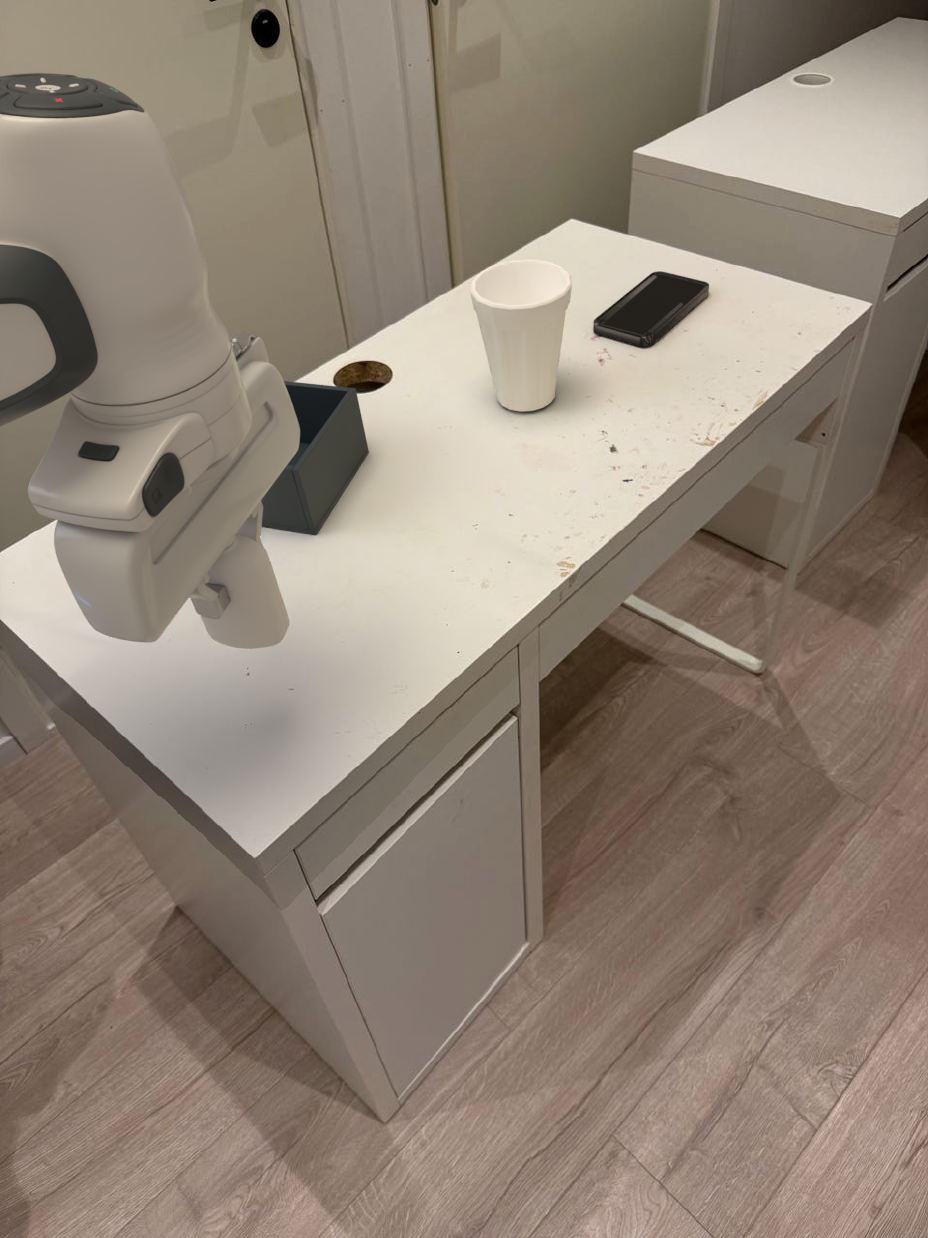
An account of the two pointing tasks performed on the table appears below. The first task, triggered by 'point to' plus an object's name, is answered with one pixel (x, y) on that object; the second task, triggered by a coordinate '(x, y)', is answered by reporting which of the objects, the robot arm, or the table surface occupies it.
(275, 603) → the eye dropper bottle
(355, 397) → the bin
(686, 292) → the phone
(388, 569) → the table surface
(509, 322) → the cup
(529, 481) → the table surface
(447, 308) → the table surface
